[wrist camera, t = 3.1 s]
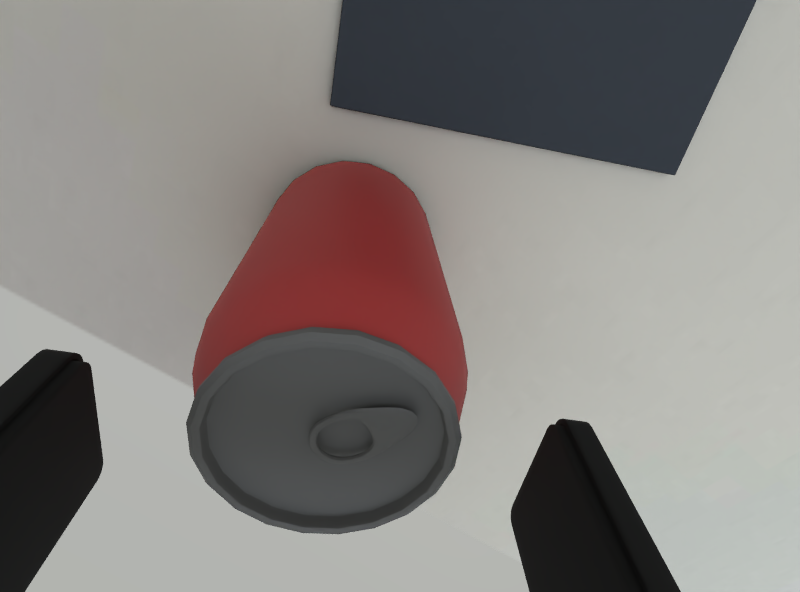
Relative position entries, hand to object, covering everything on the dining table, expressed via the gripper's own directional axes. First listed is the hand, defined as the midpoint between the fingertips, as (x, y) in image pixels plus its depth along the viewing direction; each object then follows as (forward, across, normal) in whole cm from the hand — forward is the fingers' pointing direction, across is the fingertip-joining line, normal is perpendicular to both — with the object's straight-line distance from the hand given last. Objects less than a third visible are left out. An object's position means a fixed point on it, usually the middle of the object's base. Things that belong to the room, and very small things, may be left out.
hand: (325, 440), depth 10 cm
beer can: (+12, 0, 0) cm, 12 cm away
